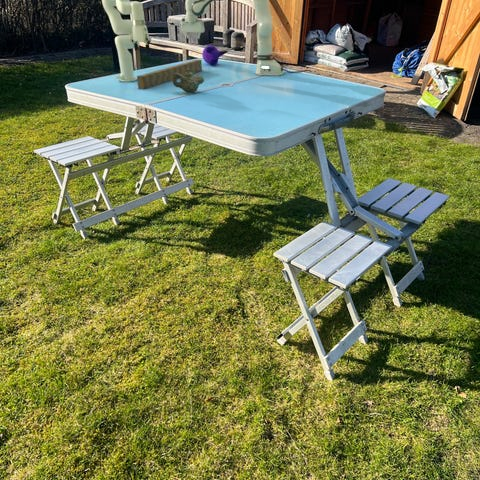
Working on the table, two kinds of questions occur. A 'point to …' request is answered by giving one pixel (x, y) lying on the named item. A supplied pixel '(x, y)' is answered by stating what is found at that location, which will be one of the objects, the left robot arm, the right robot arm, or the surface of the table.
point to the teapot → (188, 81)
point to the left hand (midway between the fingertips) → (142, 50)
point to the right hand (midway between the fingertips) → (193, 38)
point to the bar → (167, 74)
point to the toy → (212, 54)
